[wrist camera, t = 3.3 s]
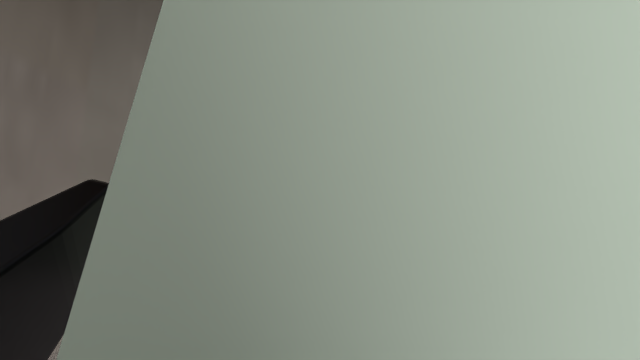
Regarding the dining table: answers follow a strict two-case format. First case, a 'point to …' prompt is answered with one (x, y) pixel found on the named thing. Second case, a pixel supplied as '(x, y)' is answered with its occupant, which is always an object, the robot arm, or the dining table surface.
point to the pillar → (374, 186)
